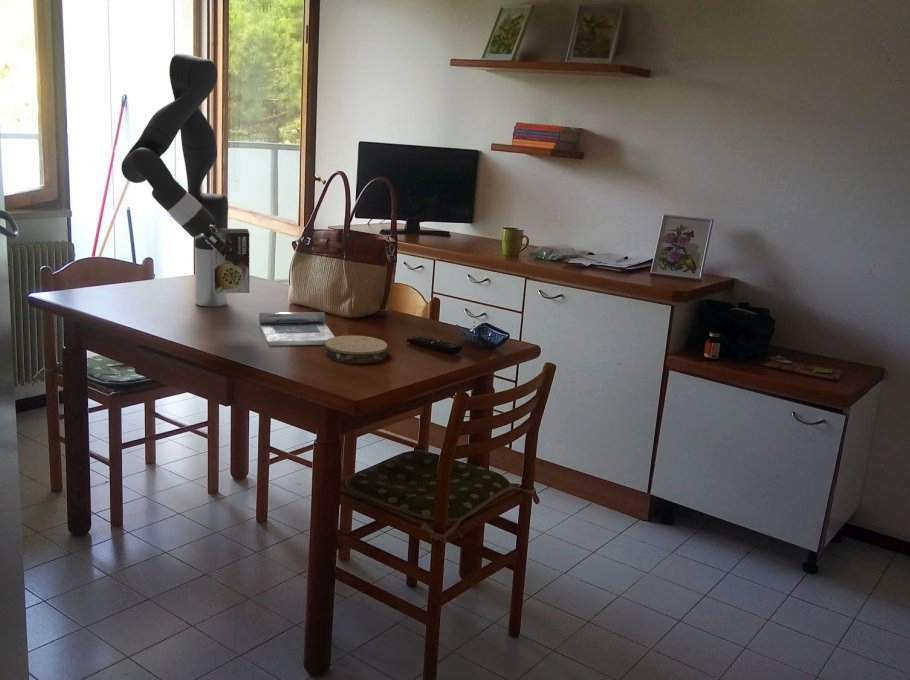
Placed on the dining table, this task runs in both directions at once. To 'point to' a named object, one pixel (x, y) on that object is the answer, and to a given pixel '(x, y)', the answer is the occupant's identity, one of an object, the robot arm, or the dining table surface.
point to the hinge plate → (294, 328)
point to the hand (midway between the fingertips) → (237, 260)
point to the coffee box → (224, 270)
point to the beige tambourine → (355, 349)
